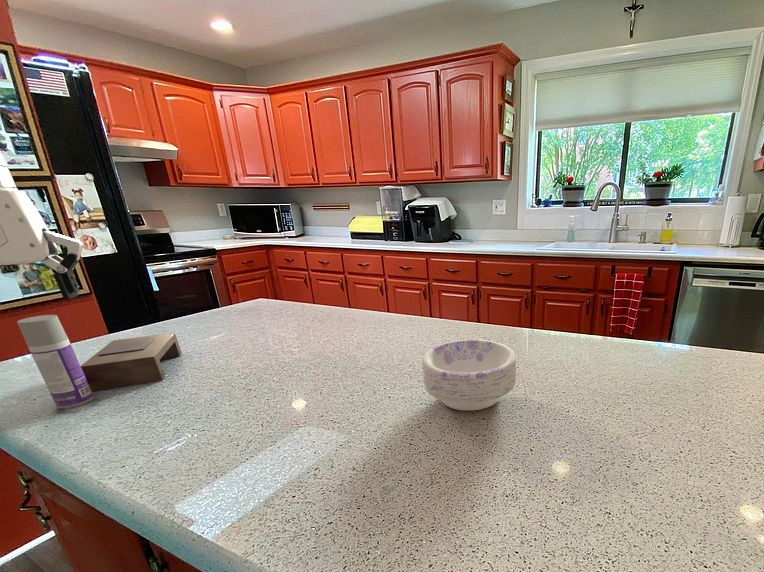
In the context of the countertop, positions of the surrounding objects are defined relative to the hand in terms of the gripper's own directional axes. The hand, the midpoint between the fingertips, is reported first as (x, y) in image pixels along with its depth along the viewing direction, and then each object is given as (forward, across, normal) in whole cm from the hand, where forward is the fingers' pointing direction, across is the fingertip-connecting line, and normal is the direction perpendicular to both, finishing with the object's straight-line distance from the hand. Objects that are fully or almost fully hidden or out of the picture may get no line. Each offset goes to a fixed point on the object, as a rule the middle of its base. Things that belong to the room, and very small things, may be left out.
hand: (31, 301), depth 62 cm
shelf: (+18, +5, +12) cm, 22 cm away
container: (+18, -1, 0) cm, 18 cm away
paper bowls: (+19, +61, -29) cm, 70 cm away
